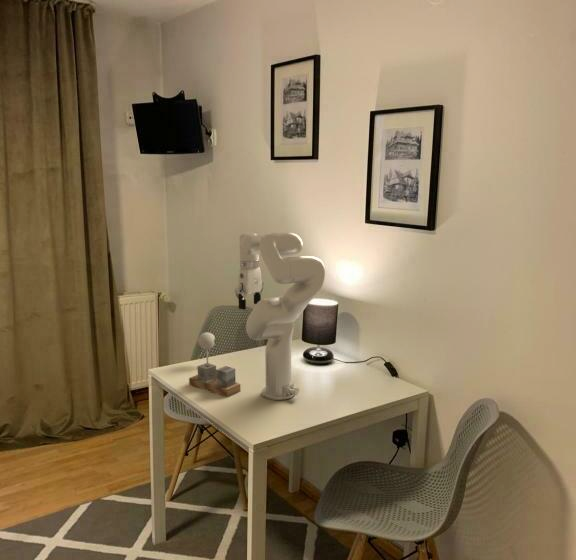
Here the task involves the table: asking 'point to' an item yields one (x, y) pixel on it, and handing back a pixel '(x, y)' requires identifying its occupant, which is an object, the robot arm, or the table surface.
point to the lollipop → (206, 341)
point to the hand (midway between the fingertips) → (249, 306)
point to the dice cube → (206, 372)
